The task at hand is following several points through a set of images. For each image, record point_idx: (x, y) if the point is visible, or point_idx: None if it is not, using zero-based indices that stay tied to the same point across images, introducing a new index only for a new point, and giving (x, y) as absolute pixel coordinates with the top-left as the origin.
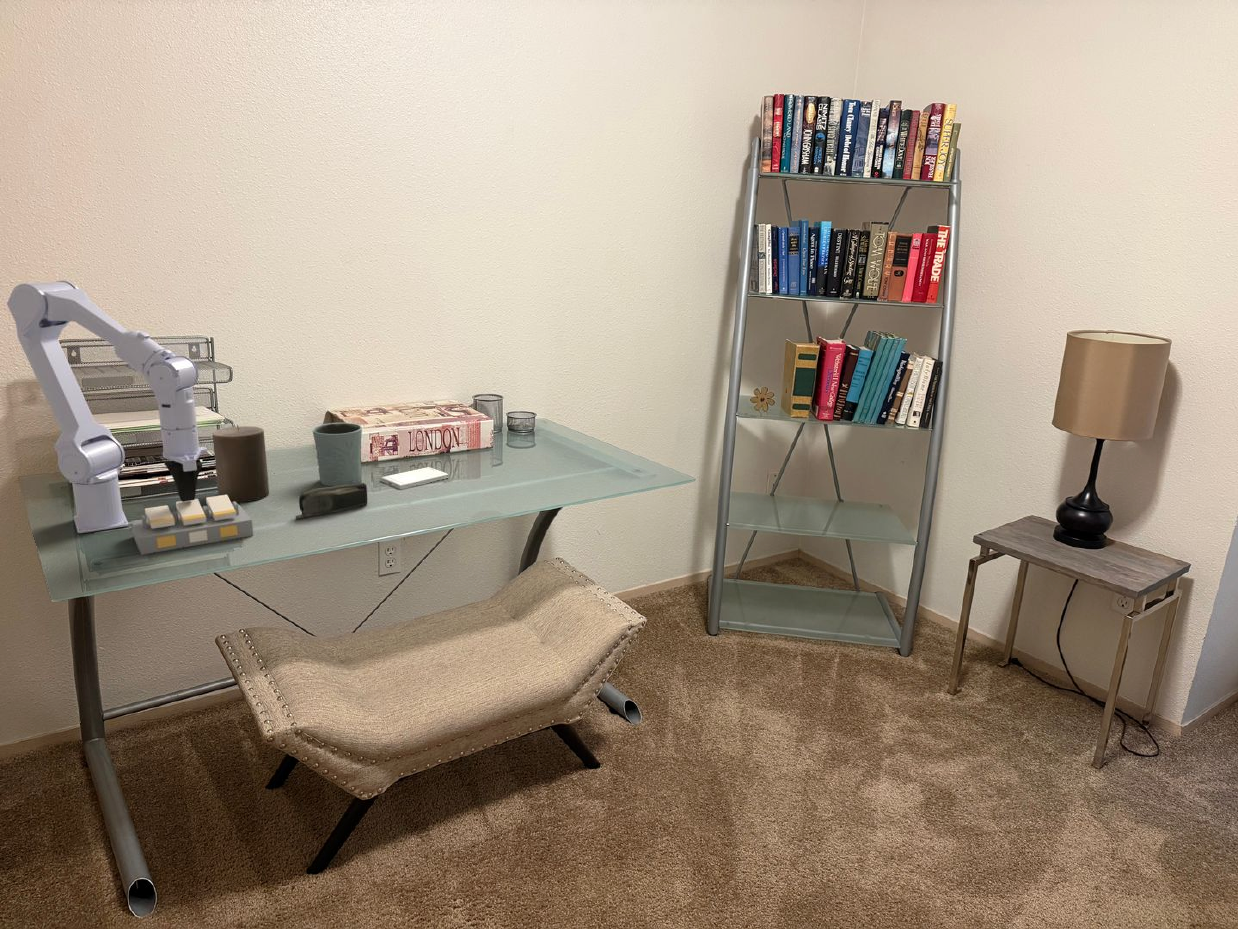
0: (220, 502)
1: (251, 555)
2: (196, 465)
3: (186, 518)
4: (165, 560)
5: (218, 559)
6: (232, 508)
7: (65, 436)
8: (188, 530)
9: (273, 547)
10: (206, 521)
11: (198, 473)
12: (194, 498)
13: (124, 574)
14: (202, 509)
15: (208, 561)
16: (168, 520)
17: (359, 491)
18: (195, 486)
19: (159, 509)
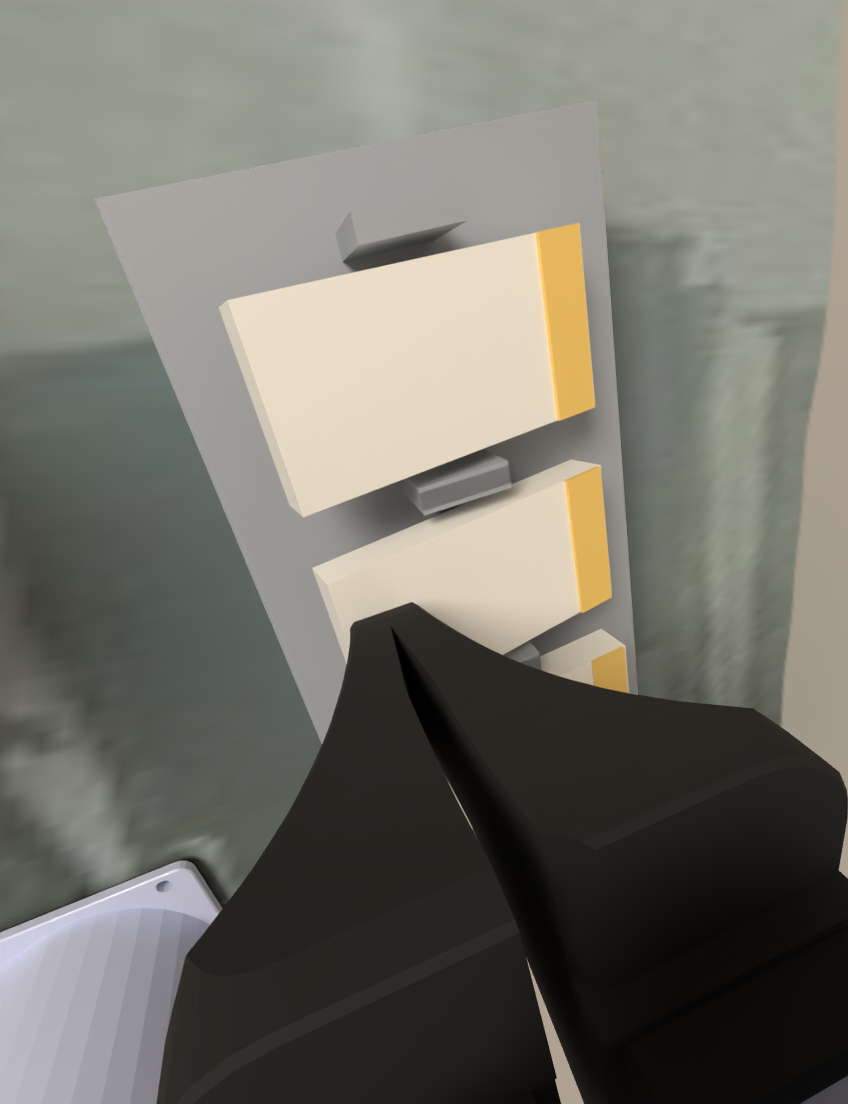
0: (405, 369)
1: (823, 186)
2: (845, 826)
3: (601, 584)
4: (690, 586)
5: (786, 363)
6: (518, 253)
7: None
8: (626, 545)
9: (780, 23)
10: (513, 462)
11: (640, 700)
12: (415, 605)
13: (748, 685)
14: (501, 508)
15: (785, 408)
16: (624, 673)
17: None
18: (478, 647)
19: None
